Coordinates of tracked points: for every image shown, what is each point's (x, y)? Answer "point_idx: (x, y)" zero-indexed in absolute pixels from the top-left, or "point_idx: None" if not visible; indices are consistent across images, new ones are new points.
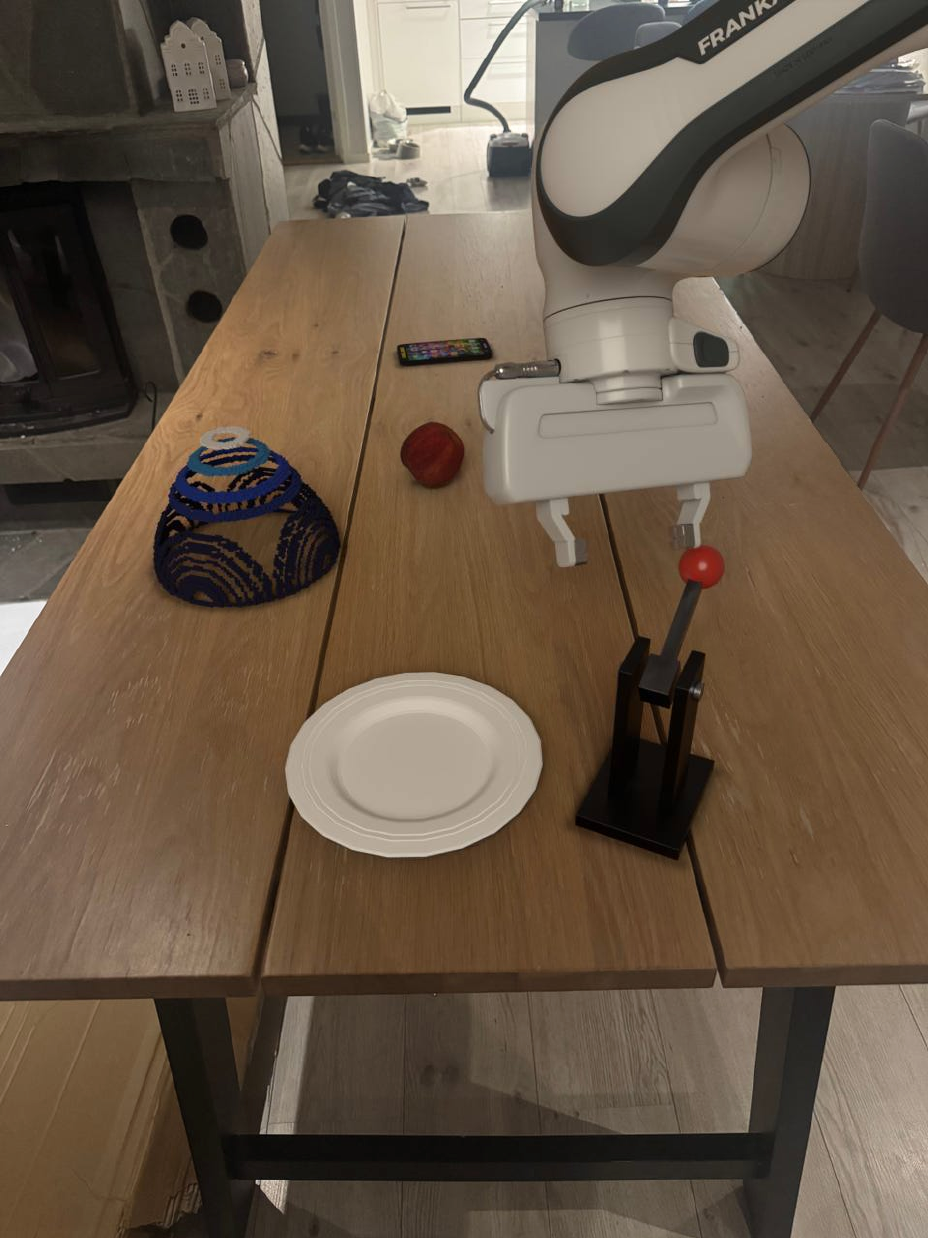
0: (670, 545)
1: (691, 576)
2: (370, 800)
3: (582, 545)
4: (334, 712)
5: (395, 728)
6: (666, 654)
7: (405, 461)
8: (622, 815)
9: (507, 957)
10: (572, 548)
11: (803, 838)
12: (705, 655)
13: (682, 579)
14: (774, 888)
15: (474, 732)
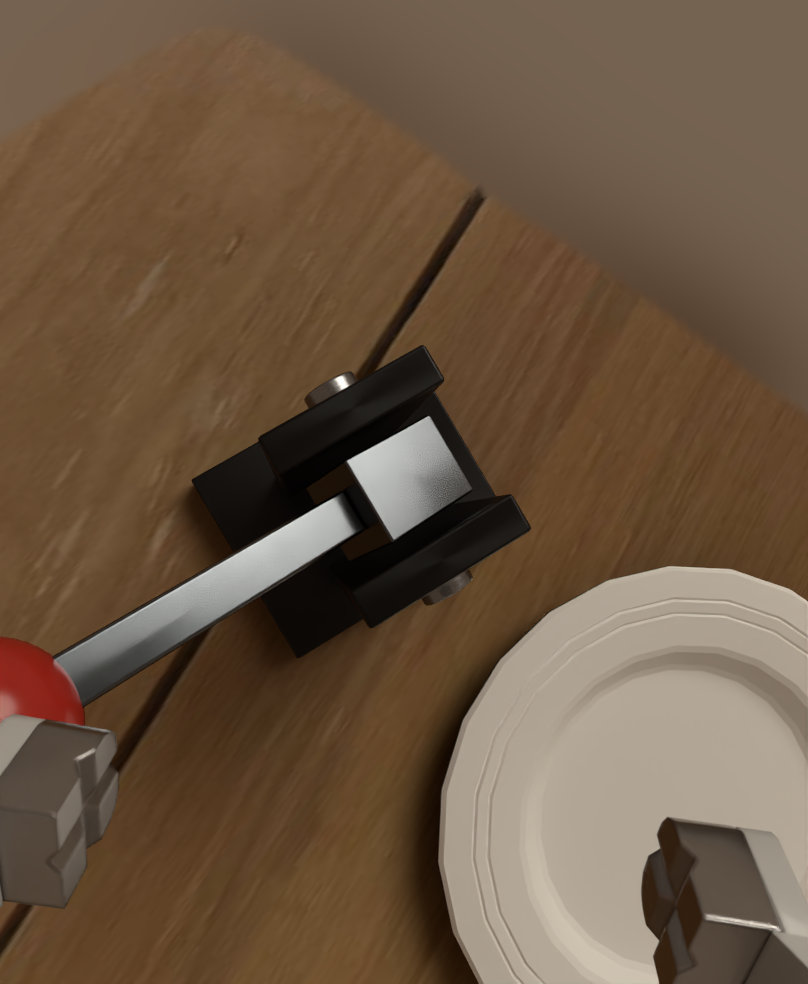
0: (109, 818)
1: (74, 697)
2: (791, 772)
3: (717, 891)
4: None
5: None
6: (341, 523)
7: None
8: None
9: (739, 381)
10: (783, 889)
11: (182, 265)
12: (260, 436)
13: None
14: (312, 225)
15: (542, 830)
